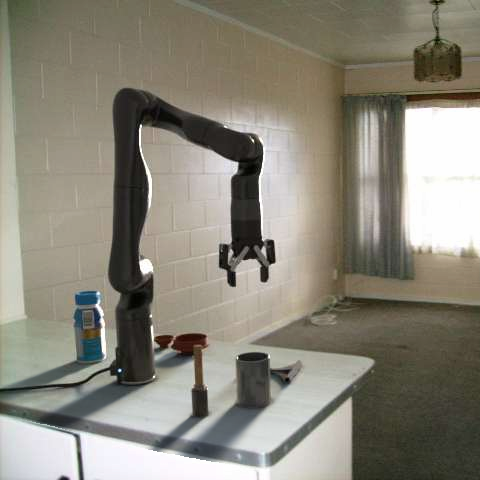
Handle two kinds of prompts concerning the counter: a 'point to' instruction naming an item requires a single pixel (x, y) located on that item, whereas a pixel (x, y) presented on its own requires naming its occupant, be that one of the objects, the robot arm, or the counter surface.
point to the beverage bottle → (89, 328)
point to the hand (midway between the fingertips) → (248, 284)
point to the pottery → (183, 342)
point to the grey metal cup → (253, 379)
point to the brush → (199, 386)
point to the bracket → (287, 371)
